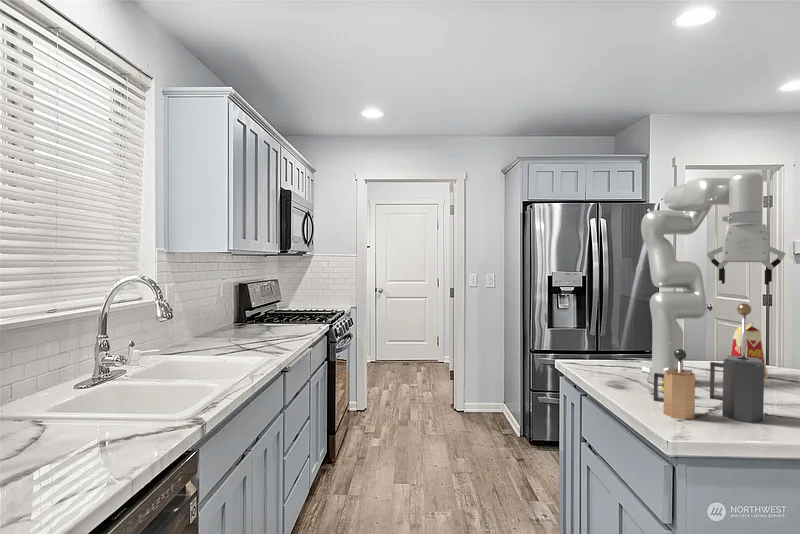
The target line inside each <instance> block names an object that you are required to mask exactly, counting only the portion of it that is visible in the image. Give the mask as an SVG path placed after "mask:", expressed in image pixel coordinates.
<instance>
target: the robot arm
mask: <svg viewBox="0 0 800 534" xmlns="http://www.w3.org/2000/svg"><path fill="white" fill-rule="evenodd" d="M763 199H764V177H763V175H762V174H760V173H757V172H745V173H736V174H733V175H732V176H731V177H703V178H702V177H701V178H697V179H691V180H688V181H687V182H686V183H685V184H679V185H675V186H673V187H670V188H669V189H668V190H667V191H666V192H665V193H664V196H663V203H664V205H665V206H666V207H667V208H668V209H666V210H665V209H662V210H661V209H660V210H653V211H649V212H647V213H646V214H645V215H644V216H643V217H642V220H641V224H640V232H641V233H640V234H641V237H642V240H643V242H644V245H645V248H646V250H647V255H648V265H649V270H650V271H649V272H650V279H651V281H652V284H653V286H654V287H657V288H659V289H660V288H662V289H681V290H683V291H680V290H676V291H675V290H674V291H673V290H672V291H671V290H670V291H669V290H664V291H659V292H658V291H657V292H656V293H654V294H652V295H651V297H650V299H649V309H650V315H651V323H652V325H651V326H652V335H651V336H652V339H651V340H652V345H651V348H652V349H651V367H648V366H647V367H646V366H642V367H641V374H647V375H648V376H647V377H646V381H647V382H649V383H650V384H653V385H654V373H660V374H664V368H676V369H678V359H676V358H675V357H674V351H675V350H677V349H682V350H684V331H683V328H682V326H681V325H680V324H679V322H678V321H677V320H699V319H701V318H703V317H704V316H705V315H706V312H707V300H706V299H707V298H706V293H705V285H704V280H703V274H702V270H701V268H700V267H699V265H698V264H696V263H695V262H692V261H684V260H683V261H678V259H677V258H676V251H675V247H674V246H673V244H672V243H671V241H670V240H668V239H667V238H666V236H664V235H673V236H674V235H678V236H679V235H681V236H682V235H684V236H686V235H687V236H688V235H691V234H694V233H695V232H696V231H697V230H698V229H699V228H700V226H701V224H702V223H703V222H704V220H705V218H706V217H707V215H708V214H709V212H710V210H712V207H713V205H714V206H715V205H717V206H719V205H720V206H721V205H722V206H728V214H727V215H725V216H722V222H725V223H728V225H725V226H724V230H723V237H722V246H720V247H718V248H716V249H713V250H712V251H709V252H707V254H706V255H707V257H708V259H709V261H710V262H711V263H712V264H713V265H714V266H715V267H716V268H718V281H721V284H723V285H724V284H726V269H725V267H726V265H727V264H728V263H762V265H763V266H765V269H764V285H767V286H769V284H770V283H771V282H773V278H772V277H773V269H774V268H776V267H777V266H778V265H779V264H780V263H781V262H782V260H783V259H784V258H785V256H786V252H784V251H782V250H779V249H778V248H775V247H772V246H770V245H769V237H768V236H769V235H768V227H767V224H765V223H764V224H763V217H764V216H763V215H764V214H763V210H764V209H763V208H764V207H763V206H764V205H763V202H764V200H763ZM720 253H722V255H721V256H722V259H723V260H722V261H721V262H719V261H718V260H717V258H715V255H718V254H720ZM770 253H772V254H774V255H776V258H775V259H774V260H773V261H772V262H770V261H769V255H770ZM769 282H770V283H769ZM681 369H684V359H683V360H682V363H681ZM658 386H662V378H661V377H658Z"/></svg>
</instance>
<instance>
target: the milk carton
mask: <svg viewBox="0 0 800 534" xmlns="http://www.w3.org/2000/svg"><path fill="white" fill-rule="evenodd" d="M753 325H754V322H750V323H746V348H745V357H751V358H759V360H760V362H763V363H764V380H769V378H768V372H767V367H766V360H765V354H764V347H763V341H762V335H761V330H760V329H758V328H756V327H754V326H753ZM737 326H738V328H737V329H736V330H735V331H734V333H733V337H732V343H731V349H730V356H740V357H741V345H742V324H737Z"/></svg>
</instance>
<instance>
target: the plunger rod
mask: <svg viewBox="0 0 800 534" xmlns="http://www.w3.org/2000/svg"><path fill="white" fill-rule="evenodd" d="M736 311H737V313H738V314H739V315H741V325H742V345H741V359H744V360H745V348H746V324H747V316H748V315H750V314H751V312H752V307H751V305H749V304H748V303H745V302H743V303H740V304H738V305H737V308H736Z"/></svg>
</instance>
